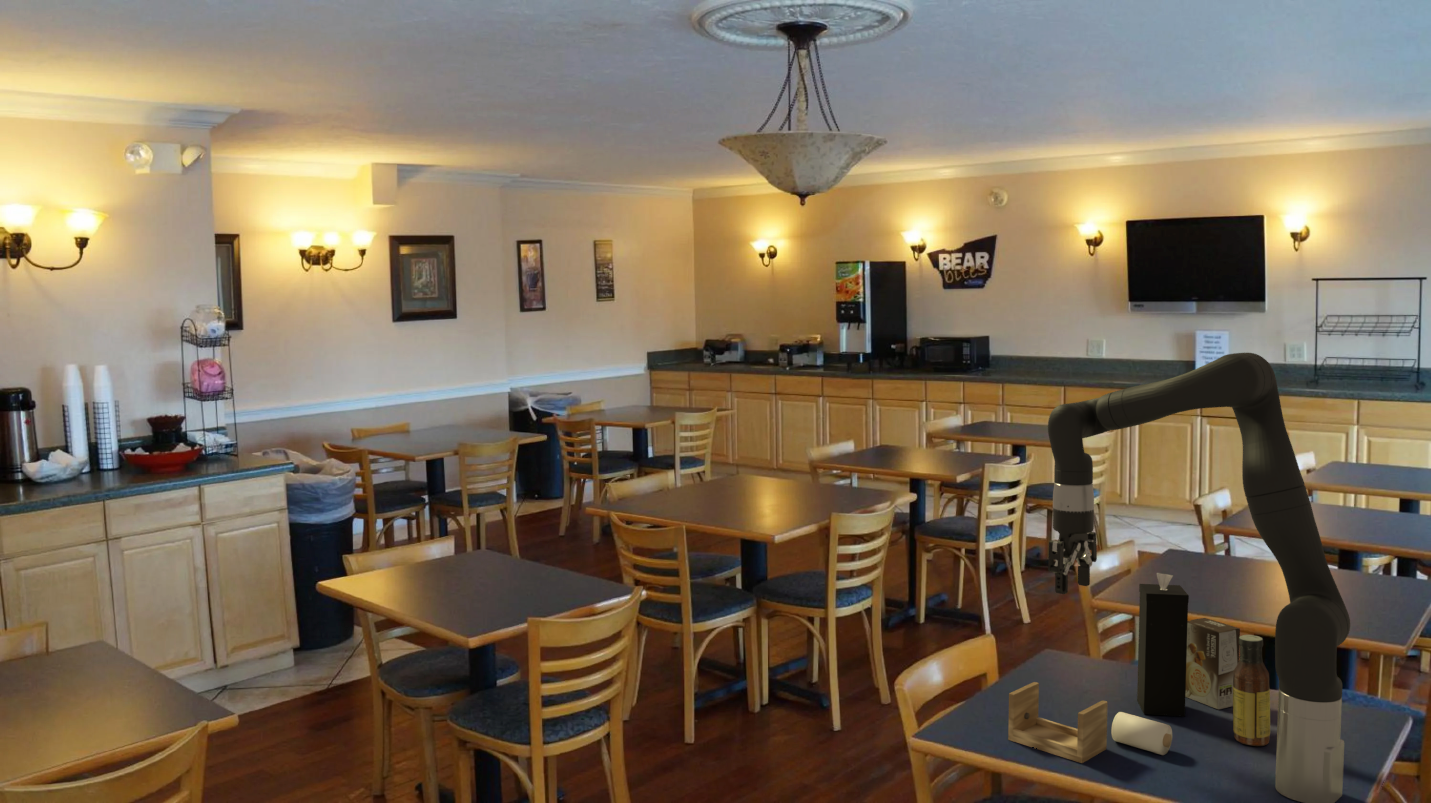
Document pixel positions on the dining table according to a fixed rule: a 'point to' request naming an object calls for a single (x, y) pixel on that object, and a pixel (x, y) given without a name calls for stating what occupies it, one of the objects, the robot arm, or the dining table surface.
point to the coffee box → (1211, 662)
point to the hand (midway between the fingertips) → (1072, 589)
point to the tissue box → (1162, 648)
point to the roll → (1142, 733)
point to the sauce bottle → (1251, 694)
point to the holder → (1056, 727)
